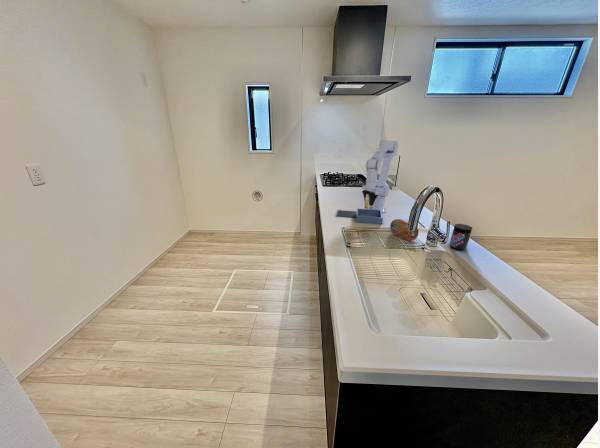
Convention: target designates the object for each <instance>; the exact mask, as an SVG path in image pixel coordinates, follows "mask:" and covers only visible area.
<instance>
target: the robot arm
mask: <svg viewBox="0 0 600 448" xmlns="http://www.w3.org/2000/svg"><path fill="white" fill-rule="evenodd" d="M398 148H399V141H398V140H395V139H394V140H392V139H391V140H390V139H389V140H388V139H381V140H380V141H379V144H378V151H375V152H374V154H373V155H372V156H371V158H368V159H367V160H366V163H365V171H366V172H365V173H366V178H365V185H362V188H361V189H362V191H361V193H362V195H363V200H364V202H365V198H366V194H368V195H369V205H373V209H371V210H381V212H382V213H385V209H384V207H385V202H386V201H385V200H386V199H387V197H388V196H389V193H390V185H389V184H388V183H387V180H388V175H389V172H390V168H391V165H392V160H393V157H396V155H397V152H398ZM380 167H381V168H380ZM379 170H380V173H379ZM378 173H379V174H378ZM378 175H379V176H378ZM377 180H378V181H377Z"/></svg>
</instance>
